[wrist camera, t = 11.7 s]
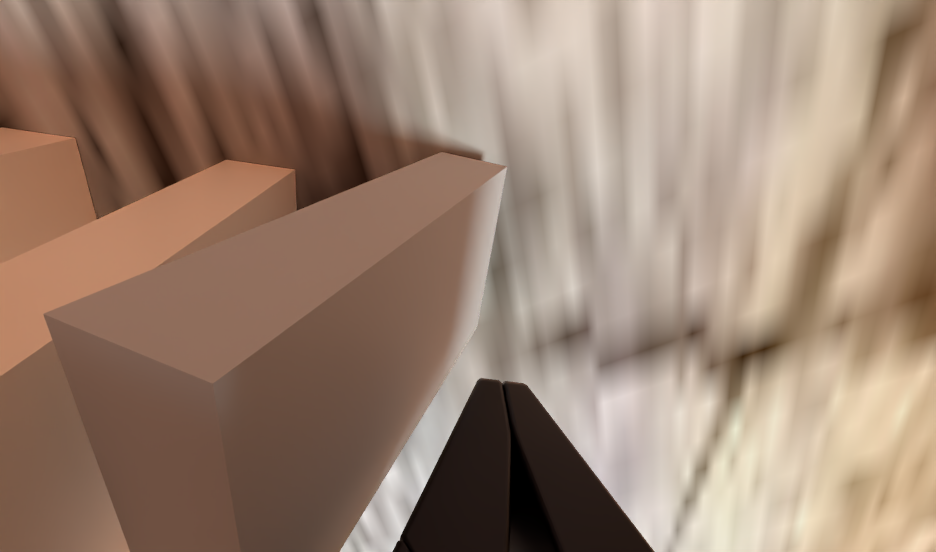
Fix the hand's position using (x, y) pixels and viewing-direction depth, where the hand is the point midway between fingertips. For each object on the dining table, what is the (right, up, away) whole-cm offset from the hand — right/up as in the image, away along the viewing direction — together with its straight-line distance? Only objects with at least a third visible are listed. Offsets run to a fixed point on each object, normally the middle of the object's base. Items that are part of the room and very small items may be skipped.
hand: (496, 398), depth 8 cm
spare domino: (-1, +3, +3) cm, 5 cm away
